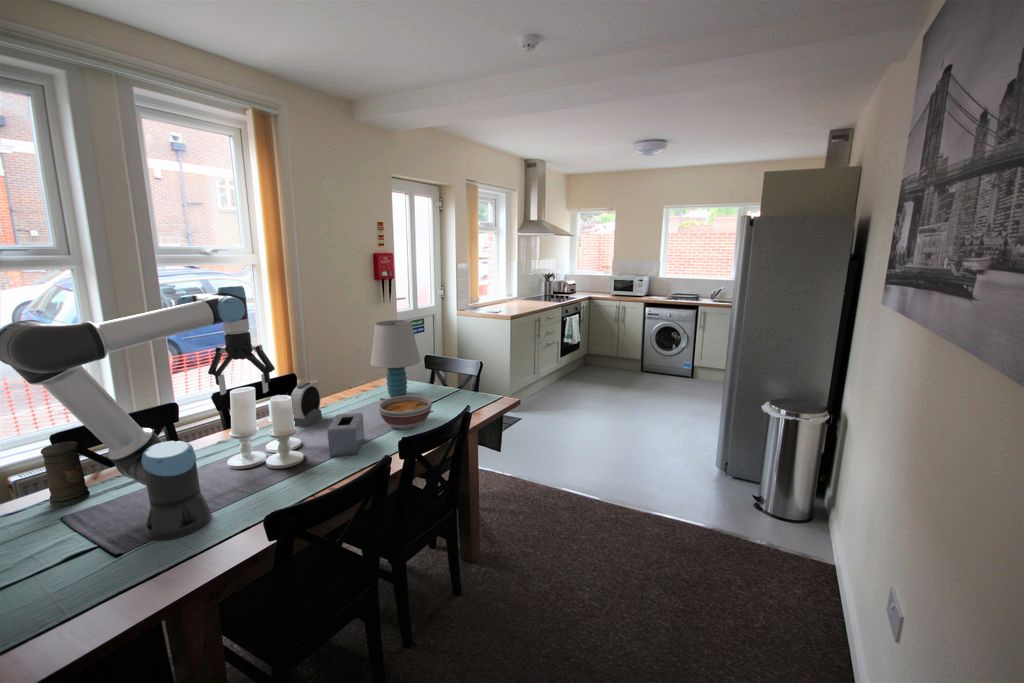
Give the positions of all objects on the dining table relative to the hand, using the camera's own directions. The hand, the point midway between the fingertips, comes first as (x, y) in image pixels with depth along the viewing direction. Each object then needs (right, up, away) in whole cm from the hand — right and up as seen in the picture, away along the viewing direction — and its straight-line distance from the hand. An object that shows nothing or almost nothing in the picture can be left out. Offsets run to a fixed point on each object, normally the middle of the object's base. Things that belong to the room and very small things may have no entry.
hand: (244, 392), depth 159 cm
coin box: (+27, -24, +24) cm, 43 cm away
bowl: (+45, -20, +47) cm, 68 cm away
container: (-48, -32, -13) cm, 59 cm away
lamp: (+31, -11, +88) cm, 94 cm away
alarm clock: (-1, -19, +52) cm, 55 cm away
